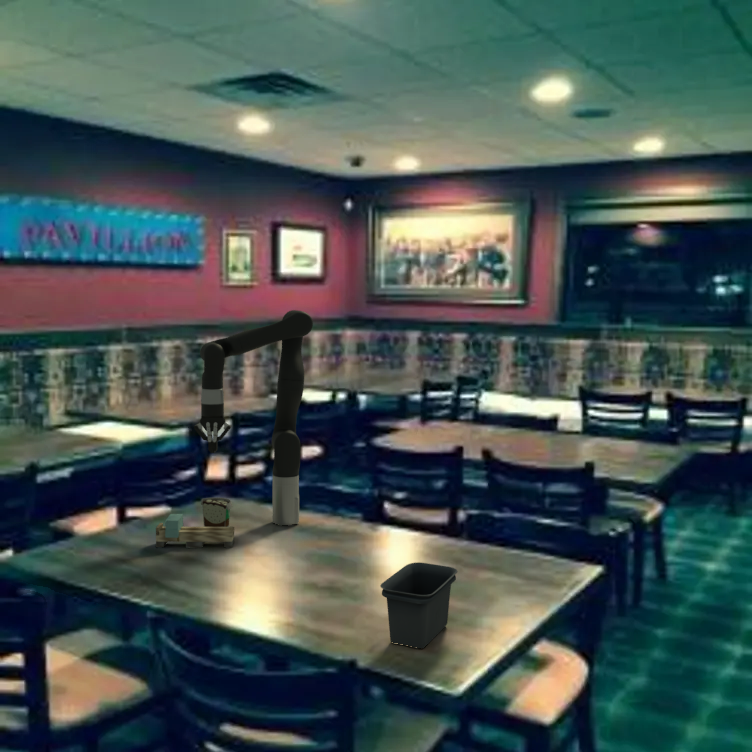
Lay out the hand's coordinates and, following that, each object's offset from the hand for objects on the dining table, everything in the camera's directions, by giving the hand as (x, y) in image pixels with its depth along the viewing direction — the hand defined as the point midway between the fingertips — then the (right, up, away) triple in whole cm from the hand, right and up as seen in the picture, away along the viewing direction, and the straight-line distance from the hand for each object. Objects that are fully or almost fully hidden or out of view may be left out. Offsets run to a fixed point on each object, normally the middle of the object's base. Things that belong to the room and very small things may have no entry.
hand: (212, 452), depth 288 cm
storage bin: (+65, -36, -84) cm, 112 cm away
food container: (+2, -27, +6) cm, 27 cm away
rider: (-10, -25, -15) cm, 30 cm away
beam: (-3, -29, -14) cm, 32 cm away
